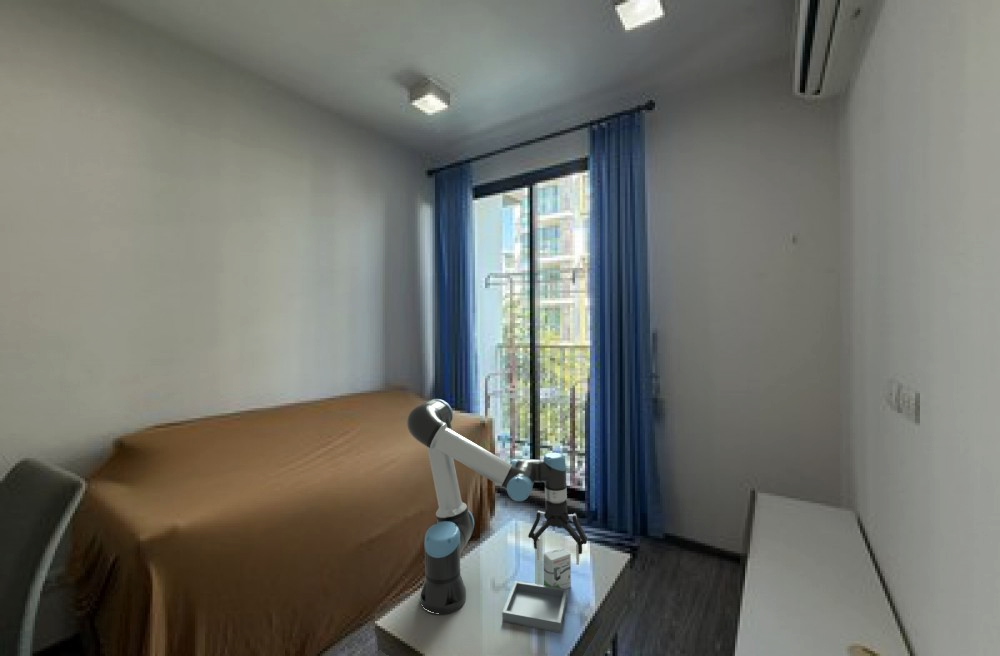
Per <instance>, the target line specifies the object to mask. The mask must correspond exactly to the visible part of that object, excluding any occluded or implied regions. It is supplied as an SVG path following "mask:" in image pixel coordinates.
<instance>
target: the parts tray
mask: <svg viewBox="0 0 1000 656" xmlns="http://www.w3.org/2000/svg"><path fill="white" fill-rule="evenodd" d="M567 601H568V588H567V589H563V588H557V587H551V586H544V584H536V583H532V582H524V581H519V580H514V582H513V585H512V586H511V589H510V592H509V594H508V597H507V600H506V602H505V604H504V607H503V609H502V612H501V614H502V617H501V618H502V623H507V624H512V625H517V626H523V627H528V628H532V629H539V630H544V631H549V632H553V633H559V634H562V631H563V630H562V629H563V624H564V620H565V619H564V618H565V612H566V607H567Z"/></svg>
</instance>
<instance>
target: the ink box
mask: <svg viewBox="0 0 1000 656" xmlns="http://www.w3.org/2000/svg"><path fill="white" fill-rule="evenodd" d="M571 559H572V558H571V553H570V552H569V551H568V550H566V549H565V548H564V547H559V548H556V549H552V550H549V551H546V552H544V553H543V585H544V586H551V587H557V588H563V589H567V590H568V589H570V588H571V587H572V575H571V574H572V572H571V570H572V568H571V567H572V566H571V564H572V563H571V562H572V561H571Z"/></svg>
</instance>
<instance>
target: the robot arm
mask: <svg viewBox="0 0 1000 656" xmlns="http://www.w3.org/2000/svg"><path fill="white" fill-rule="evenodd" d="M453 416H454V413H453V409H452V407H451V405H450V404H449V403H448V402H446V400H443V399H440V398H433V399H429V400H426V401H425V402H423V403H422V404H420V405H418V406H415V407H414V408H413V409H412V410H411V411H410V412H409V414H408V415H407V421H406V422H407V424H406V425H407V429H408V432H409V433H410V435H411V436H412V437H413V439H415V440H416V441H417V442H419V443H421V444H422V445H423V446H426V448H427V452H428V458H429V464H430V469H431V474H432V479H433V483H434V485H433V486H434V489H435V494H436V499H437V505H438V509H437V510H436V512H435V516H436V522H437V523H435V524H432V525H431V526H430V527H429V528H428V529H427V530H426V532H425V535H424V543H423V544H424V545H423V547H424V572H425V573H424V574H425V578H424V582H423V584H422V588H421V592H420V595H419V597H420V600H421V603H420V605H421V604H422V605H423V607H424V608H425V609H427V610H429V611H431V612H434V613H439V614H442V615H447V614H451V613H453V612H456V611H457V610H459V609H460V608H462V607H463V605H464V604H465V602H466V599H467V590H466V586H465V583H464V580H463V577H462V575H461V554H462V552H463V550H464V549H465V547H466V545H467V544H468V542H469V540H470V539H471V537H472V535H473V532H474V528H475V519H474V516H473V514H472V512H471V511H470V510H469V509H468V506H467V504H466V503H465V502H463V500H462V496H461V491H460V487H459V486H460V484H459V480H458V475H457V471H456V466H455V460H456V461H458V462H460V463H461V464H463V465H465V466H466V467H467V468H469V469H471V470H472V471H475V472H476V473H478V474H479V475H481V476H483V477H484V478H486V479H488V480H490V481H491V482H493V483H494V484H497V485H498V486H500V487H502V488H503V489H505V490H506V492H507V495H508V497H509V498H510V499H512V500H513V501H516V502H523V501H525V500H527V499H528V497H529V496H530V494H532V491H533V488H534V483H544V497H545V500H544V501H545V504H544V506H545V512H544V511H542V510H541V509H538V510H537V512H536V517H535V520H534V523H533V524H532V527H531V529H530V531H529V533H528V535H527V537H528V538H529V539H532V541H533V548H534V549H535V550H536V560H538V561H540V559H541V556H542V555H541V554H542V552H541V535H542V534H543V533H544V532H545V531H546V530H547V528H548V527H550V526H551V527H552V528H555V527H556V528H557V527H558V528H563V529H564V530H566V532H567V533H568V534H569V535H570V536H571V537H572V539H573V540H574V541H575V542H576V543H575V557H576V559H575V560H576V565H577V566H578V565H580V555H582V553H583V545H586V544H587V542H588V537H587V535H586V533H585V531H584V529H583V527H582V526H581V523H580V522H579V520H578V516H577V515H578V514H577V512H574V513H573V514H572V513H571V514H569V512H568V500H567V498H568V495H567V494H568V491H567V466H566V457H565V456H564V454H562V453H558V452H548V453H545V454H544V456H543V459H530V458H529V459H528V458H514V459H511V460H510V463H509V462H508V461H506V460H505V459H503V458H501V457H499V456H497V455H496V454H494V453H493V452H490V451H488V450H487V449H485V448H484V447H482V446H480V445H479V444H476V443H475V442H473V441H471V440H470V439H468V438H466V437H465V436H462V435H461V434H459V433H457V432H456V431H454V430H453V428H452V421H453V418H454V417H453ZM543 518H545V519H546V521H545V522H544V523H543V525H541V527H540V528H539V529H538V530H537V531H536V529H537V527H538V524H539V522H540V520H541V519H543ZM568 520H570V521H571V522H572V523H573V525H574V527H575V529H576V530H575V529H574V528H573V526H572V525H571V524H570V522H569V521H568ZM535 531H536V532H535ZM576 531H577V532H576ZM534 532H535V533H534ZM420 600H419V601H420Z"/></svg>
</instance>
